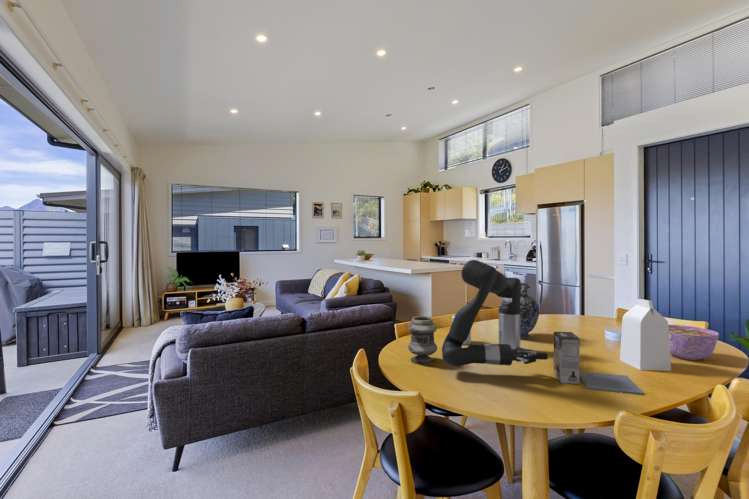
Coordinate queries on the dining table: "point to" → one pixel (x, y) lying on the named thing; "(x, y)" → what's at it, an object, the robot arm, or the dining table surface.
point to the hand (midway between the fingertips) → (546, 356)
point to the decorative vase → (526, 312)
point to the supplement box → (468, 336)
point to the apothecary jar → (422, 339)
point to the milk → (645, 338)
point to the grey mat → (609, 382)
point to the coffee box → (566, 357)
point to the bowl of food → (691, 342)
